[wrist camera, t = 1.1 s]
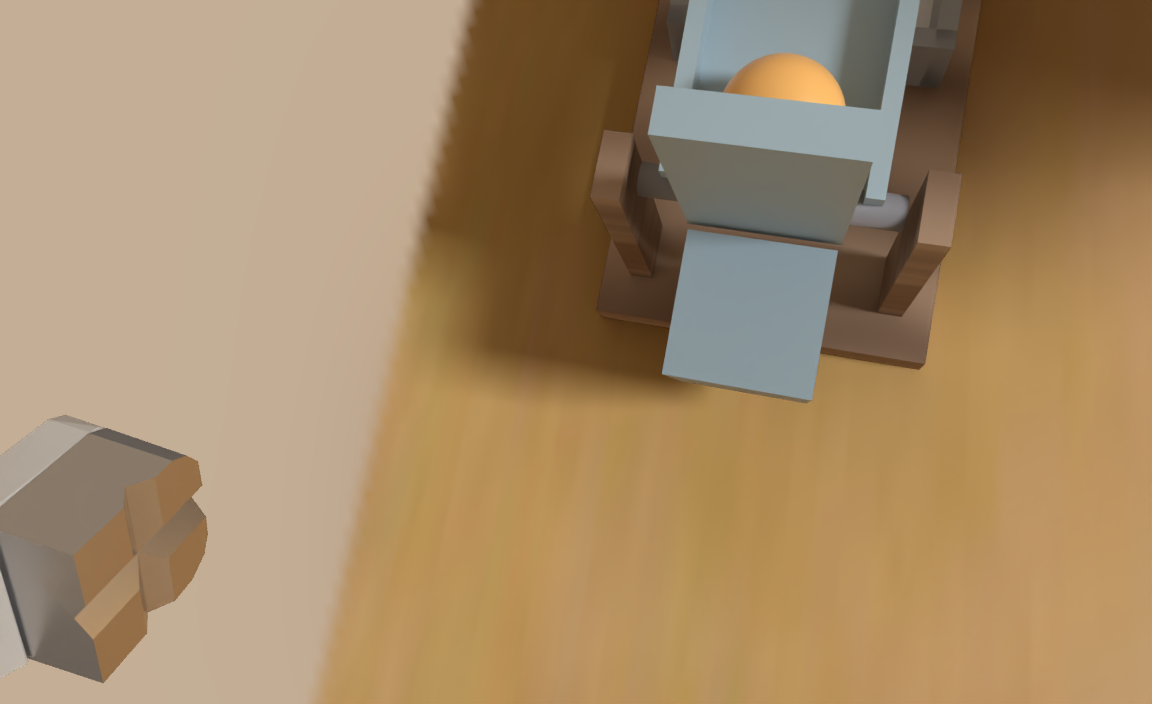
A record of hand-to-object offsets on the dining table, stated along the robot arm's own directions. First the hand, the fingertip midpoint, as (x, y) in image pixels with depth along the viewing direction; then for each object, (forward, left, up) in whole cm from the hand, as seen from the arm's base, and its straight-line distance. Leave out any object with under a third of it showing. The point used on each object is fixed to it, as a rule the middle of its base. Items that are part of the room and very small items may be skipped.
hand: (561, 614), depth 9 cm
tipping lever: (-6, -14, -27) cm, 31 cm away
